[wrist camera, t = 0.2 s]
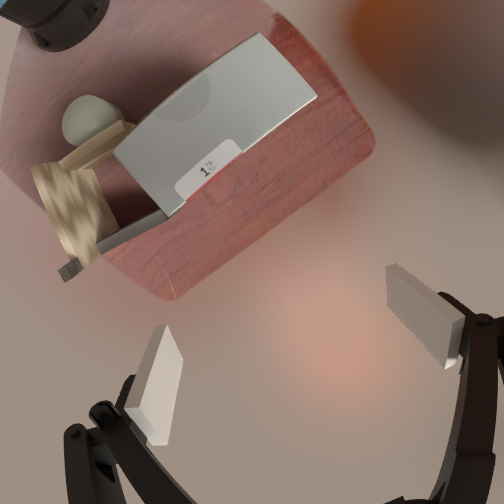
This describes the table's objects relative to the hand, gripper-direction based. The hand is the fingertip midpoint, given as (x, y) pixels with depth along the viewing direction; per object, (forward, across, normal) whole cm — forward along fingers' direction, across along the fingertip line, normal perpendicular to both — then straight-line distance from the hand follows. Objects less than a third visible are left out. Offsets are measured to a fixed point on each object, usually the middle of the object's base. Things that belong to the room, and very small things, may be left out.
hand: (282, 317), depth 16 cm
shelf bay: (+28, -16, +10) cm, 34 cm away
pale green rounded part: (+28, -18, +20) cm, 39 cm away
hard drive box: (+28, -1, +12) cm, 31 cm away
